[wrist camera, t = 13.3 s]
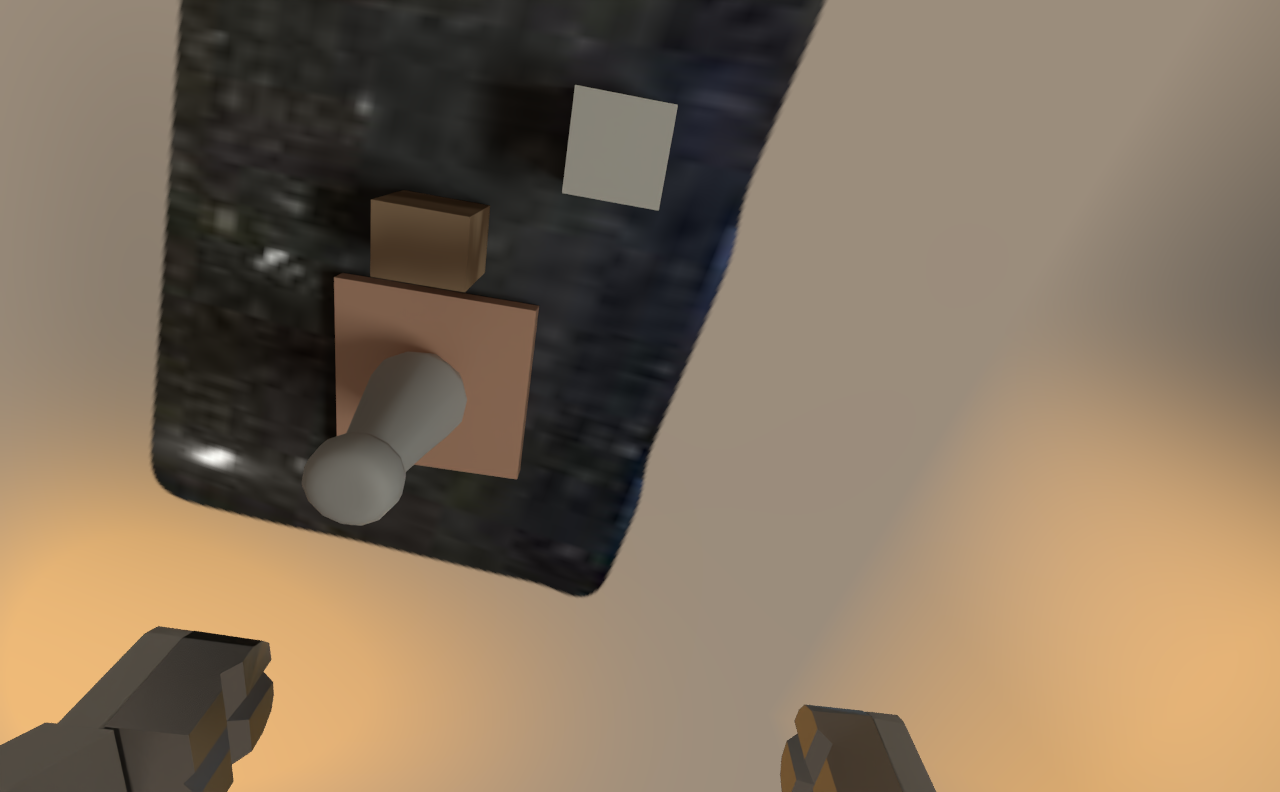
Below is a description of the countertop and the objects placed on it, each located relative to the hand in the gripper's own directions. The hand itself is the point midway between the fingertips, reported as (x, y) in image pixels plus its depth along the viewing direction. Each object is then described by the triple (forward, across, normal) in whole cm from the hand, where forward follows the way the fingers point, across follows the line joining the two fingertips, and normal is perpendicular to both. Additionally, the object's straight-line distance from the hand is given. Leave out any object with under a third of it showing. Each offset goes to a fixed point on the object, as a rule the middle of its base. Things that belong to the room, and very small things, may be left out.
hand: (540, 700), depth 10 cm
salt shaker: (+30, +10, +9) cm, 33 cm away
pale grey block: (+31, 0, -7) cm, 32 cm away
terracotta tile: (+31, +10, +9) cm, 34 cm away
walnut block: (+31, +10, -1) cm, 33 cm away
